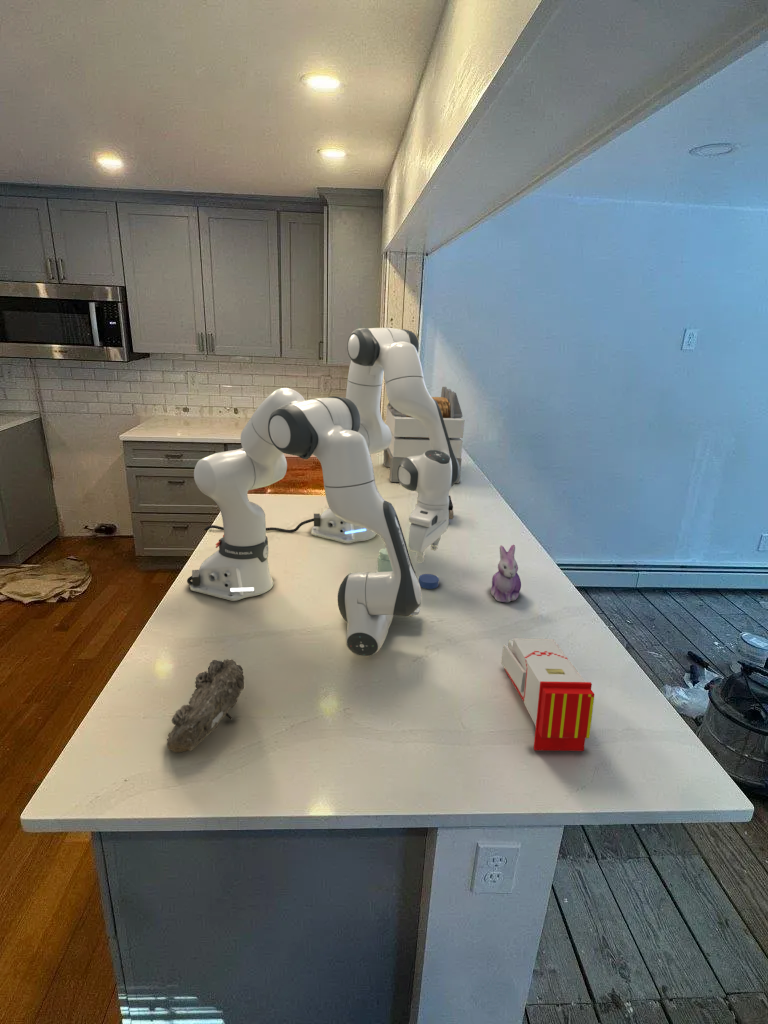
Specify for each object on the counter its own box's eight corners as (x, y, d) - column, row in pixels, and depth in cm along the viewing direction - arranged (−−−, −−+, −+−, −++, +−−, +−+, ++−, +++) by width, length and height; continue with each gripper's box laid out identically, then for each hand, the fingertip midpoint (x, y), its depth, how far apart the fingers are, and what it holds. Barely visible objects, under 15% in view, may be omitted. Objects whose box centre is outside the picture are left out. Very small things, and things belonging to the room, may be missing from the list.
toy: (549, 621, 128) (604, 690, 99) (544, 676, 131) (595, 758, 101) (496, 620, 128) (535, 688, 98) (492, 675, 130) (528, 757, 101)
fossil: (192, 660, 117) (244, 628, 112) (224, 691, 120) (276, 661, 115) (142, 746, 98) (202, 712, 93) (182, 779, 101) (242, 748, 96)
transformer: (382, 463, 289) (386, 382, 275) (445, 464, 293) (451, 384, 279) (390, 482, 257) (394, 392, 243) (460, 483, 261) (468, 394, 247)
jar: (375, 599, 154) (377, 547, 149) (393, 599, 155) (396, 547, 150) (376, 608, 150) (379, 555, 145) (395, 608, 150) (398, 555, 145)
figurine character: (453, 528, 210) (448, 510, 224) (455, 510, 207) (450, 493, 220) (435, 528, 210) (432, 510, 223) (437, 509, 207) (433, 492, 220)
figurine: (503, 606, 153) (510, 556, 148) (480, 590, 162) (486, 542, 156) (530, 600, 157) (537, 550, 152) (507, 584, 166) (513, 537, 161)
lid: (442, 585, 164) (443, 579, 163) (427, 590, 160) (427, 584, 160) (429, 578, 168) (430, 572, 167) (414, 582, 165) (414, 576, 164)
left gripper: (419, 604, 136) (425, 579, 149) (336, 593, 139) (350, 570, 152) (417, 627, 138) (424, 600, 151) (336, 616, 141) (349, 591, 154)
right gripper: (436, 497, 166) (431, 540, 171) (406, 518, 149) (402, 565, 154) (456, 502, 163) (451, 545, 168) (427, 524, 146) (423, 571, 151)
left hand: (386, 585), depth 151 cm, fingers closed on jar, 5 cm apart
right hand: (427, 555), depth 161 cm, fingers open, 8 cm apart
